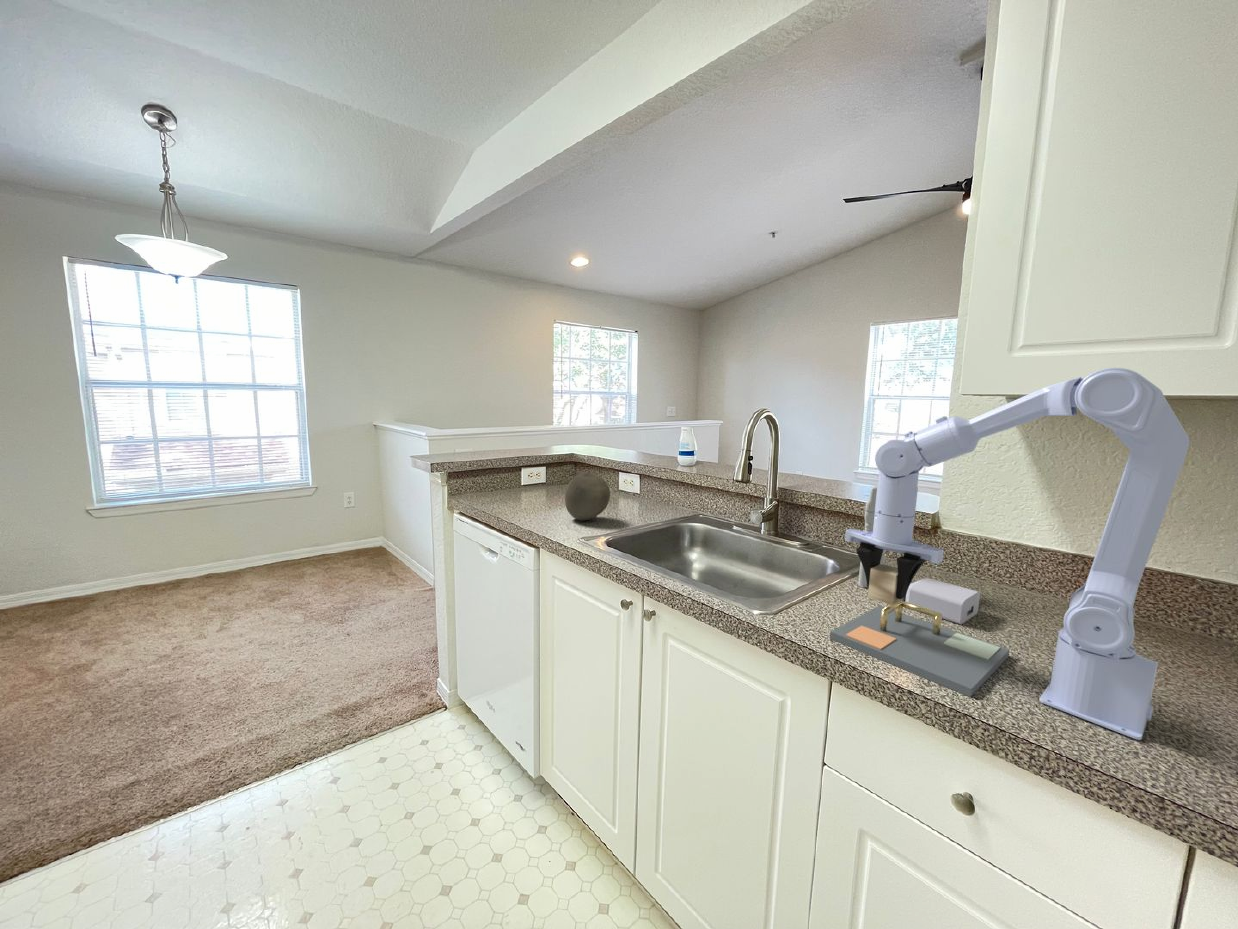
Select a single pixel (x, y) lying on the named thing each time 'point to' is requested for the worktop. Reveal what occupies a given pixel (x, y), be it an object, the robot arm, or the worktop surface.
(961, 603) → the charger
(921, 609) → the brass corner pipe rail
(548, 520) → the worktop surface
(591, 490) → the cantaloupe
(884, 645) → the board
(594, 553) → the worktop surface
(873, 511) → the grey tall flat piece
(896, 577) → the block
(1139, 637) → the worktop surface
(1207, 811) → the worktop surface
